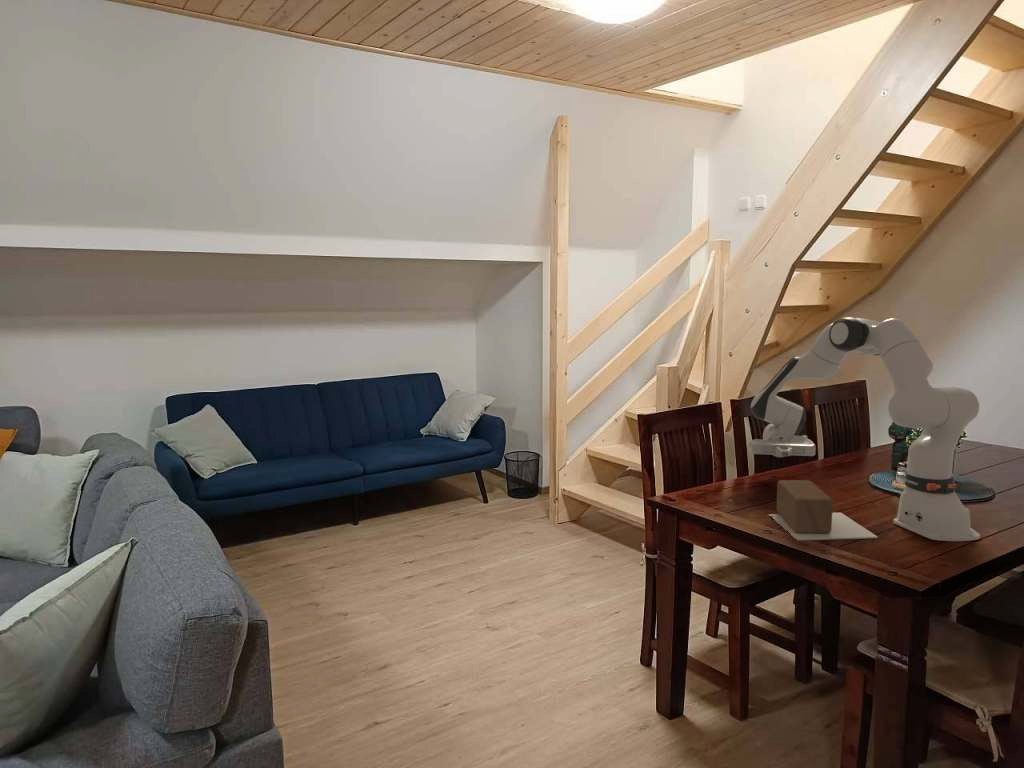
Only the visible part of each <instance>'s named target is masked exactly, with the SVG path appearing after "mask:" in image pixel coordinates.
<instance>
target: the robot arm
mask: <svg viewBox="0 0 1024 768" xmlns="http://www.w3.org/2000/svg"><path fill="white" fill-rule="evenodd" d="M850 353H854V354H858V355H864V356H865V355H867V356H870V355H872V356H879V357H880V358H881V360H882V363H883V364H884V366H885V368H886V369H887V372H888V374H889V375H890V378H891V380H892V383H893V385H894V394H893V396H892V397H891V398H890V400H889V402H888V407H887V408H888V409H887V410H888V414H889V417H890V419H891V421H892V422H894V423H895V424H897V425H898V426H902V427H908V428H914V429H921V428H924V429H923V431H922V433H921V435H920V436H919V437H918V438H917V439H916V440H915V441H913V442H912V443H911V445H910V446H909V450H908V456H907V468H906V469H907V471H906V472H905V473H904V475H905V476H904V486H905V488H904V490H903V491H902V493H901V494H900V495H899V496H900V497H899V502H898V508H897V514H896V517H894V518H893V520H892V523H893V524H895V525H897V526H899V527H902V528H904V529H906V530H908V531H910V532H914V533H916V534H918V535H920V536H922V537H925V538H926V539H930V540H933V541H943V542H969V541H976V540H979V539H981V534H980V533H979V532H977V531H976V530H974V528H972V527H971V511H970V509H969V508H966V507H965V505H964V504H963V503H962V500H960V498H959V497H958V495H957V493H956V489H957V488H958V487H957V486H958V484H957V483H955V480H954V477H953V466H954V465H953V464H954V457H955V451H956V446H957V444H958V442H959V439H960V437H961V435H962V433H963V432H964V430H965V429H966V428H967V426H968V425H969V424H970V423H971V422H972V421H973V420H975V418H976V417H977V416H978V414H979V410H980V401H979V399H978V397H977V395H975V393H974V392H973V391H971V390H969V389H966V388H961V387H955V386H949V387H948V386H946V387H945V386H943V387H933V386H931V384H930V383H929V381H928V380H929V379H928V378H929V376H930V375H931V373H932V372H933V371H932V370H933V368H934V367H933V362H932V360H931V358H930V357H929V355H928V354H927V352H926V351H925V348H924V347H923V345H922V344H921V342H920V340H919V338H918V337H917V336H916V334H915V333H914V331H912V330H911V328H910V327H909V326H908V325H907V324H906V322H904V321H903V320H901V319H898V318H887V319H885V320H882V321H877V320H874V319H873V320H872V319H869V318H863V317H852V316H848V317H842V318H841V317H840V318H839V319H837V320H835V321H834V322H833V323H830V324H828V325H827V326H825V328H824V329H823V330H822V331H821V332H820V334H819V335H818V336H817V337H816V339H815V340H814V341H813V343H811V346H810V348H809V349H807V351H806V352H805V353H803V354H801V355H800V356H794V357H792V358H790V359H789V360H788V361H787V362H786V363H785V364H784V365H783V366H782V367H781V368H780V370H779V371H778V372H777V373H776V374H775V375H774V376H773V377H772V379H771V380H770V381H769V382H768V383H767V384H766V385H765V387H764V388H763V389H761V390H760V391H759V392H758V393H757V394H756V395H755V396H754V397H753V399H752V400H751V403H750V407H749V408H750V412H751V414H752V415H753V417H754V418H755V419H758V420H761V421H764V422H766V423H769V424H768V425H766V426H765V427H764V430H763V433H762V439H761V438H760V439H759V438H755V439H752V440H751V441H748V444H747V445H748V447H750V454H753V455H768V456H769V455H770V456H771V455H772V456H774V457H776V458H784V457H790V456H802V457H803V456H804V457H814V456H815V455H816V450H817V449H816V444H815V443H814V442H813V441H812V440H811V439H809V438H808V436H807V434H801V432H802V431H803V429H804V427H805V425H806V421H807V413H806V410H805V409H804V407H803V406H801V405H799V404H797V403H794V402H792V401H790V400H787V399H785V398H784V397H780V396H778V395H777V394H778V393H779V392H780V391H781V390H782V389H783V388H784V387H785V386H786V384H788V382H790V381H791V380H795V379H806V380H807V379H809V380H825V379H827V378H830V377H832V376H834V375H835V373H837V372H838V370H839V369H840V367H841V366H842V364H843V363H844V362H845V359H846V358H847V356H848V355H849V354H850Z"/></svg>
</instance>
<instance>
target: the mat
mask: <svg viewBox="0 0 1024 768" xmlns="http://www.w3.org/2000/svg"><path fill="white" fill-rule="evenodd" d="M768 515H769V516H773V517H772V518H773V519H774V520H775V521H776V522H777V523H778V524H780V525H781V526H782V527H783V528H784V529H785V531H786V530H787V531H788V532H789V533H790V534H791V536H792V538H794V539H795V540H796V539H797V540H796V541H820V540H821V541H822V540H823V541H824V540H825V541H826V540H857V539H858V540H860V539H862V540H863V539H878V537H879V536H877V535H876V534H874V533H873V532H871V531H870V530H868V529H867V528H865V527H863V526H862V525H860V524H859V523H857V522H856V521H855V520H853V519H852V518H850V517H848V516H847V515H845V514H844V513H842V512H832V527H831V532H830V533H796V532H795V531H794V530H793V529H792V528H791V527H790V526H789V524H788V523H787V522H786V521H785V520H784V519H783V517H782V516H781V515H780V514H779V513H771V514H767V516H768ZM769 516H768V517H769ZM774 520H773V521H774ZM775 521H774V522H775ZM776 522H775V523H776ZM777 523H776V524H777ZM780 525H779V526H780ZM781 526H780V527H781ZM782 527H781V528H782ZM783 528H782V529H783ZM784 529H783V530H784ZM787 531H786V532H787ZM788 532H787V533H788ZM789 533H788V534H789ZM790 534H789V535H790Z"/></svg>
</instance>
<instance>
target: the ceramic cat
mask: <svg viewBox="0 0 1024 768" xmlns="http://www.w3.org/2000/svg"><path fill="white" fill-rule="evenodd" d="M912 429H913V428H908V427H902V426H898V425H897V424H895V423H894V422H893V421H892V422H891V424H890V426H889V427H888V431H887V433H888V436H889V438H890V439H893V440H894V442H893V444H892V453H891V454H890V455H891V467H890V468H891V469H896V468H897V465H898V463H899V462H904V461H905V462H906V459H908V447H907V444H906V442H905V441H906V436H907V435H909V434H912V433H913V431H912ZM913 430H914V429H913Z"/></svg>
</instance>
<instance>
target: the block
mask: <svg viewBox="0 0 1024 768" xmlns="http://www.w3.org/2000/svg"><path fill="white" fill-rule="evenodd" d="M776 486H777V487H776V492H777V493H776V511H777V514H780V515H781V516H782V517H783V519H784V520H785V521H786V522H787V523H788V524H789V526H790V527H791V528H792V529H793V530H794V531H795V532H796V533H830V532H831V527H832V513H833V504H834V503H833V502H834V501H833V499H832V498H831V497H830V496H829V495H828V494H826V493H825V492H824V491H823V490H822V489H820V487H818V486H817V485H816V484H815V483H814V482H813V481H811V480H807V479H806V480H804V479H803V480H800V479H798V480H797V479H795V480H793V479H788V480H787V479H786V480H785V479H783V480H782V479H780V480H778V482H777V483H776Z"/></svg>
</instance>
